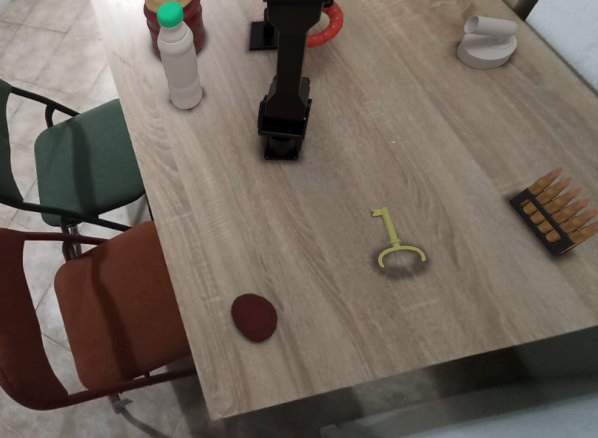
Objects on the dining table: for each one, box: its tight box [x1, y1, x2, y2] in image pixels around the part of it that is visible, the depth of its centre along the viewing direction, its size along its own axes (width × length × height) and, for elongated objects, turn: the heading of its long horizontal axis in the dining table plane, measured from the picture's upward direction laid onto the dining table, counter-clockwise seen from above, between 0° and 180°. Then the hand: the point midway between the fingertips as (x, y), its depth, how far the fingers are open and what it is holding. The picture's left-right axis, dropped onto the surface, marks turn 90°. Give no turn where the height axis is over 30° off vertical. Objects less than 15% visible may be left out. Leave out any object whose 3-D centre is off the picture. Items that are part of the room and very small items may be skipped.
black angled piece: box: [249, 6, 278, 52], centre depth 99 cm, size 8×8×8 cm
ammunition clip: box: [508, 166, 598, 257], centre depth 66 cm, size 11×2×12 cm, turn 16°
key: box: [370, 206, 427, 268], centre depth 76 cm, size 7×12×2 cm, turn 23°
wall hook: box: [456, 15, 519, 70], centre depth 82 cm, size 9×10×10 cm
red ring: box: [306, 1, 345, 49], centre depth 86 cm, size 12×12×2 cm
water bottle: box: [157, 1, 203, 110], centre depth 90 cm, size 7×7×25 cm
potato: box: [230, 292, 279, 343], centre depth 75 cm, size 7×8×6 cm
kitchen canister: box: [142, 0, 206, 59], centre depth 101 cm, size 13×13×18 cm
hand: (311, 3), depth 88 cm, fingers closed on red ring, 2 cm apart
